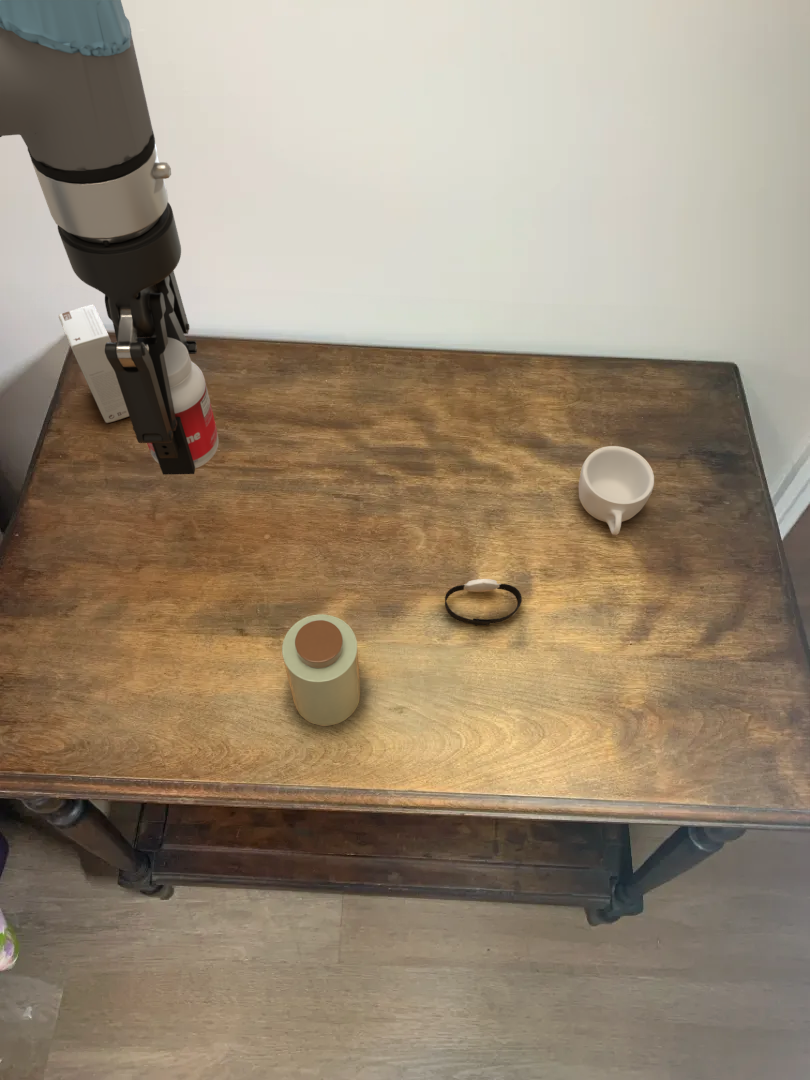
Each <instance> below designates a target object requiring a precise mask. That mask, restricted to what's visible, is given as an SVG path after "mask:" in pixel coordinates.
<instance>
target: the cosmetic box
mask: <svg viewBox="0 0 810 1080" xmlns="http://www.w3.org/2000/svg"><path fill="white" fill-rule="evenodd" d="M58 319H59V322H60V324H61V326H62V331H63V333H64V334H65V336H66V338H67V341H68V344H69V346H70V348H71V350H72V353H73V355H74V357H75V360H76V361H77V364H78V366H79V369H80V371H81V373H82V375H83V378H84V379H85V382H86V384H87V386H88V388H89V390H90V392H91V394H92V397H93V399H94V401H95V404H96V405H97V408H98V411H99V412H100V414H101V416H102V418H103V420H104V422H105V423H106V424H109V423H113V422H116V421H120V420H123V419H125V418H126V419H127V418H128V417H129V418H130V416H129V413H128V410H127V407H126V404H125V401H124V398H123V395H122V392H121V389H120V386H119V383H118V380H117V377H116V374H115V371H114V369H113V368H112V366H111V364H110V363H109V361H108V359H107V357H106V354H105V345H106V343H107V342H112V340H111V338H110V335H109V333H108V331H107V329H106V326H105V324H104V322H103V320H102V318H101V316H100V314H99V312H98V309H97V308H96V306H95V303H94V304H93V303H92V304H87V305H84V306H82V307H78V308H75V309H71V310H68V311H66V312H63V313H60V314H58Z"/></svg>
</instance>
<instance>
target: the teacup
mask: <svg viewBox="0 0 810 1080" xmlns="http://www.w3.org/2000/svg"><path fill="white" fill-rule="evenodd" d="M579 473H580V474H579V479H578V498H579V501H580V504H581V506H582V507H583V508H584V510H585V512H587V513H588V514H589V515H590V516H591V517H593V518H595V519H596V520H598V521H601V522H604V523H606V524H607V525H608V529H609V530H610V534H611V535H613V536H618V535H619V534H620V532H621V527H622V522H625V521H628V520H630V519H632V518H633V517H635V516H636V515H637V514H638V513H639V512H640V511H641V510H642V509H643V508H644V507H645V505H646V504H647V502H648V501H649V499H650V497H651V494H652V493H653V490H654V488H655V487H654V486H655V475H654V471H653V468H652V467H651V465H650V464H649V462H648V461H647V460H646V459H645V457H643V456H642V455H641V454H639V453H638V452H636V451H634V449H633V450H632V449H631V448H627V447H623V446H620V445H619V446H618V445H608V446H603V447H600V448H597V449H596V450H594V451H592V452H591V453H589V455H588V456H587V457H586V459H585V460H584V462H583V464H582V466H581V469H580V472H579Z"/></svg>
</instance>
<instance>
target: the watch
mask: <svg viewBox="0 0 810 1080" xmlns="http://www.w3.org/2000/svg"><path fill="white" fill-rule="evenodd" d="M494 590H503V591H507V592H509V593H510V594H512V595H513V596H514V597H515V599H516V602H517V603H516V608H515V610H513V611H512V612H511V613H510V614H507V615H506V616H503V617H499V618H498V617H497V618H478V617H477V618H474V617H473V618H472V619H470V618H467V617H464V616H461V615H458V614H456V613H455V612H454V611H452V609H451V608H450V607H449V605H448V602H447V601H448V599H449V597H450V596H451V595H452V594H454V593H456V592H460V591H468V592H472V593H473V592H474V593H484V592H490V591H494ZM522 599H523V597H522V594H521V592H520V590H519V589H518V588H517V587H516V586H513V585H511V584H507V583H498V581H497V580H496V579H491V578H477V579H472V580H469V581H467V582H466V583H465V584H459V585H455V586H453V587H451V588H450V589H449V590H447V592H446V594H445V596H444V606H445V607H444V608H445V610H446V612H447V613H448V615H449V616H450V617H452V619H454V620H456V621H458V622H460V623H464V624H468V625H473V626H476V627H478V626H485V627H488V626H490V625H491V624H499V623H502V622H505V621H507V620H508V619H510V618H511V617H513V616H514V615H515V613H517V611H518V610H519V608H520V607H521V604H522V601H523V600H522Z"/></svg>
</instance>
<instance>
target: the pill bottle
mask: <svg viewBox="0 0 810 1080" xmlns="http://www.w3.org/2000/svg"><path fill="white" fill-rule="evenodd" d="M167 338H168V344H167V346H166V349H165V351H164V352H163V353H164V358H165V363H166V369H167V374H168V380H169V385H170V390H171V396H172V401H173V407H174V412H175V417H180V418H181V422H182V425H183V428H184V432H185V435H186V438H187V442H188V445H189V448H190V452H191V455H192V459H193V462H194V465H195V469H198V468H200V467H203V466H205V465H206V464H207V463H208V462H210V460H211V459H212V458H213V457H215V454H216V453H217V451H218V448H219V441H220V440H219V434H218V429H217V424H216V420H215V416H214V412H213V408H212V404H211V399H210V395H209V391H208V387H207V382H206V379H205V376H204V373H203V371H202V370H201V368H200V367H199V366H198V365H197V364H196V362H194V361H192V358H191V357H190V354H189V353H188V350H187V348H186V347H185V345H184V344H183V343H181V342H180V341H178V340H176V339H173V338H169V337H167ZM146 445H147V448H148V451H149V453H150V455H151V457H152V459H153V460H154V461H155V462H156V463H157V464H158V465H159V462H158V459H157V456H156V454H155V451H154V448H153V445H152V443H146Z"/></svg>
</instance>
